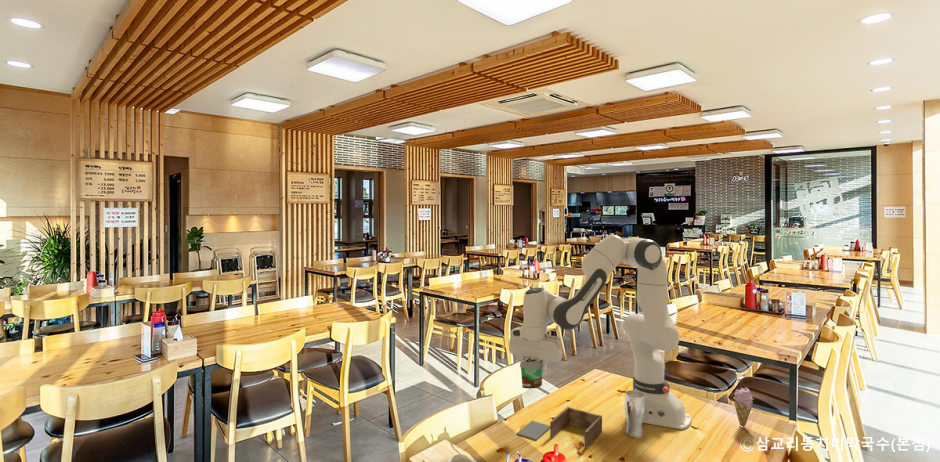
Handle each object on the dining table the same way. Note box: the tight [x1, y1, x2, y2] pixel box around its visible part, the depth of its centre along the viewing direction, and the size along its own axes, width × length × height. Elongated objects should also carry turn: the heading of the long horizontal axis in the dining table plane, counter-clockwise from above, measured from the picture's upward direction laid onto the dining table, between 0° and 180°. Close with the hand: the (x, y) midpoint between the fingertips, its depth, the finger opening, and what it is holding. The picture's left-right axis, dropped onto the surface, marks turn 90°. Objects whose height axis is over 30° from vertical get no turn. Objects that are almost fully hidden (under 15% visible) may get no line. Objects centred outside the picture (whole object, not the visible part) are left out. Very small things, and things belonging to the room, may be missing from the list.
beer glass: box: [624, 389, 645, 439], centre depth 167 cm, size 7×7×15 cm
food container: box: [519, 357, 544, 390], centre depth 168 cm, size 12×6×10 cm, turn 145°
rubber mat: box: [516, 420, 550, 441], centre depth 169 cm, size 8×12×1 cm, turn 145°
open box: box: [549, 406, 603, 450], centre depth 166 cm, size 14×15×6 cm
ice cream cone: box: [732, 386, 755, 428], centre depth 172 cm, size 7×6×15 cm
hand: (534, 369), depth 168 cm, fingers closed on food container, 5 cm apart
